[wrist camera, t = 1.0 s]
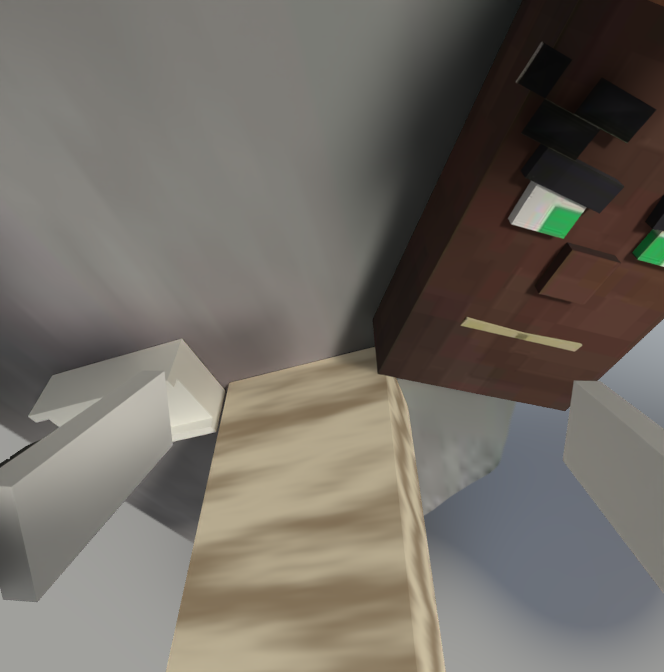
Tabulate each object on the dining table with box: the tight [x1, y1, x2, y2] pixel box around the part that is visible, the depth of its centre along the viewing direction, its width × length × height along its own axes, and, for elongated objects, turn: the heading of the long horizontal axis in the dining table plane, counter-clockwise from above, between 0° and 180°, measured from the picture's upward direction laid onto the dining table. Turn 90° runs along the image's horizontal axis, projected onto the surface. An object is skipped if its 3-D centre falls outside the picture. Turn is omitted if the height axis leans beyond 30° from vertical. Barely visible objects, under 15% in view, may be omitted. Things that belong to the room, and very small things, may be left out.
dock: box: [28, 339, 225, 442], centre depth 44 cm, size 8×15×5 cm, turn 110°
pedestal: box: [166, 347, 446, 672], centre depth 36 cm, size 10×16×31 cm, turn 110°
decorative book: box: [373, 0, 664, 411], centre depth 30 cm, size 19×8×30 cm
